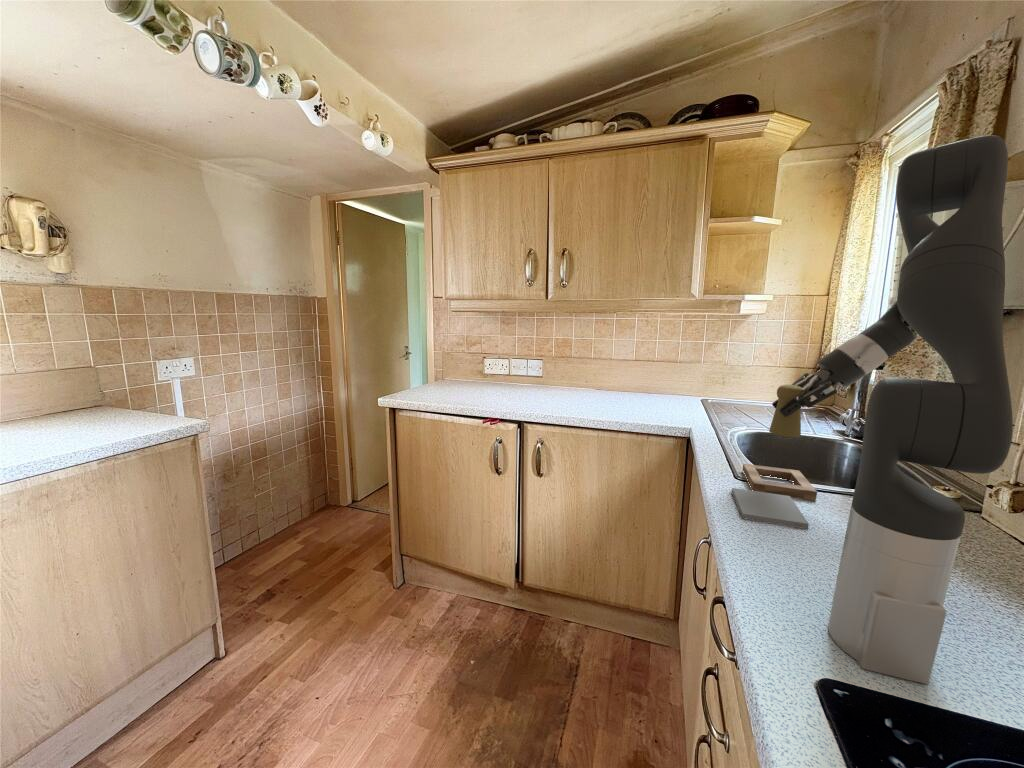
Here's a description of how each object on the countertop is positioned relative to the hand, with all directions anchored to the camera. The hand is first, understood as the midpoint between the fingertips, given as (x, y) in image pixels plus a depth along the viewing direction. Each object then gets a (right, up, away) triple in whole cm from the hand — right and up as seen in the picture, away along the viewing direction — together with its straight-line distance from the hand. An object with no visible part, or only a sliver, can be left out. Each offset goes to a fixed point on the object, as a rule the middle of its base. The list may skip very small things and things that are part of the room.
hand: (778, 410), depth 93 cm
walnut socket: (+1, -18, +3) cm, 18 cm away
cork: (+2, -5, +1) cm, 6 cm away
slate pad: (-8, -20, -8) cm, 23 cm away
